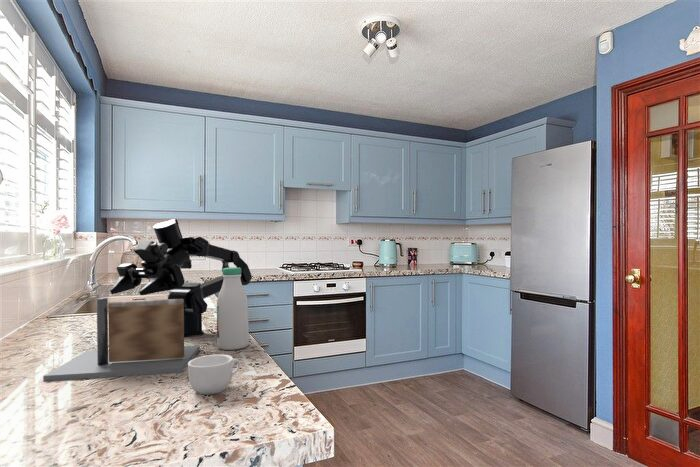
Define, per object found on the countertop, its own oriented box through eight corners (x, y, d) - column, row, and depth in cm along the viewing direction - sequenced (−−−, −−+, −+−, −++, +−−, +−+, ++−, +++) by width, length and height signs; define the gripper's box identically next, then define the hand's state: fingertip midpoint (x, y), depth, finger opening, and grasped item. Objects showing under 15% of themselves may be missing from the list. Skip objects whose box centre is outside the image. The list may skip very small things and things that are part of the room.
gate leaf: (108, 362, 89) (108, 302, 89) (112, 360, 90) (111, 301, 90) (182, 358, 91) (181, 299, 91) (184, 356, 92) (183, 298, 92)
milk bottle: (255, 344, 107) (253, 266, 107) (234, 352, 100) (233, 269, 100) (231, 341, 111) (230, 266, 111) (210, 349, 104) (209, 268, 104)
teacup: (201, 402, 70) (201, 370, 70) (180, 391, 75) (179, 361, 75) (251, 385, 78) (251, 356, 78) (229, 376, 83) (228, 349, 83)
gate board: (200, 349, 104) (199, 345, 104) (181, 372, 86) (181, 367, 86) (87, 355, 100) (87, 351, 100) (43, 380, 82) (43, 375, 82)
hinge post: (107, 361, 91) (106, 297, 91) (109, 364, 89) (108, 298, 89) (96, 363, 89) (96, 298, 89) (98, 365, 88) (97, 299, 88)
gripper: (132, 236, 113) (84, 263, 100) (187, 234, 107) (144, 263, 94) (146, 271, 118) (101, 302, 104) (200, 272, 111) (160, 305, 98)
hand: (125, 293), depth 100 cm, fingers open, 9 cm apart
